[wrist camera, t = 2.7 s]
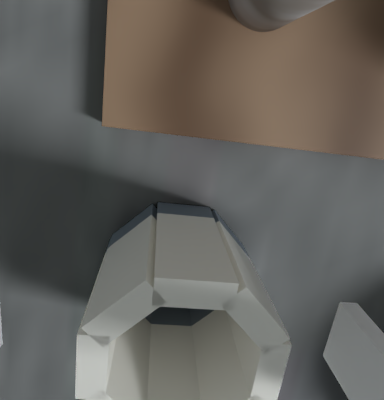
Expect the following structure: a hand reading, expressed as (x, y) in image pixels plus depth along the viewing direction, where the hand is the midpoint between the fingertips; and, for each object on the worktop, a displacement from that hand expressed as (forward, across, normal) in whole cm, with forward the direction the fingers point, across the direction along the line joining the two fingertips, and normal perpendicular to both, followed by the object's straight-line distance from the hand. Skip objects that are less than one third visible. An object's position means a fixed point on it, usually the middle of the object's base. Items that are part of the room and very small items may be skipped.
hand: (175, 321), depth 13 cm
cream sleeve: (+5, 0, 0) cm, 5 cm away
